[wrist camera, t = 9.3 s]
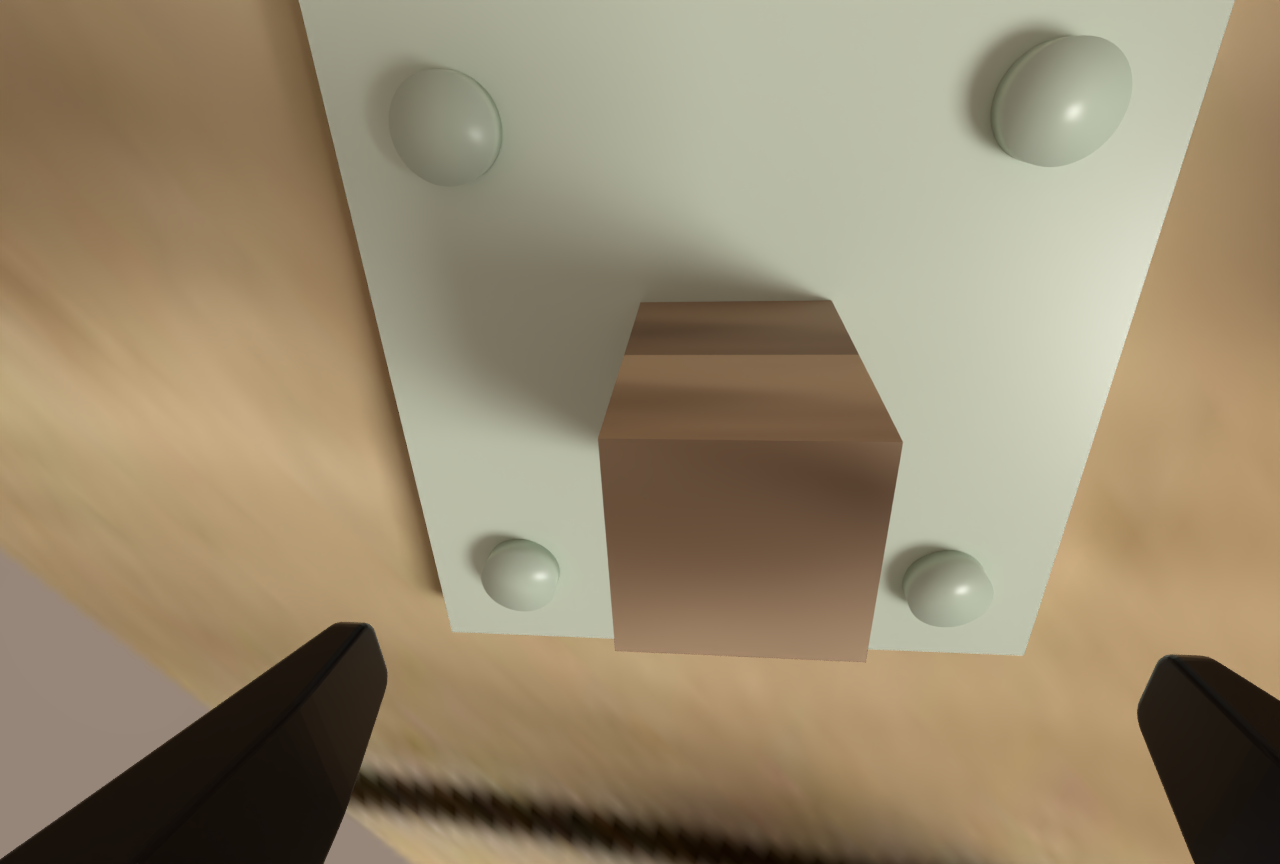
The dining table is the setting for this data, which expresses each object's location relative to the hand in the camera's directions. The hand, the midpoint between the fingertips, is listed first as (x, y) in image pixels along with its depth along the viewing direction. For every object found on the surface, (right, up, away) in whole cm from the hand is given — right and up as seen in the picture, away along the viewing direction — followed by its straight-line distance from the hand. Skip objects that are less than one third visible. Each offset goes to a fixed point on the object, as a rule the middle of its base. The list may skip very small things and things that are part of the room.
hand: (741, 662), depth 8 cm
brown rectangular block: (+1, +4, +7) cm, 8 cm away
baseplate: (+1, +4, +8) cm, 9 cm away
